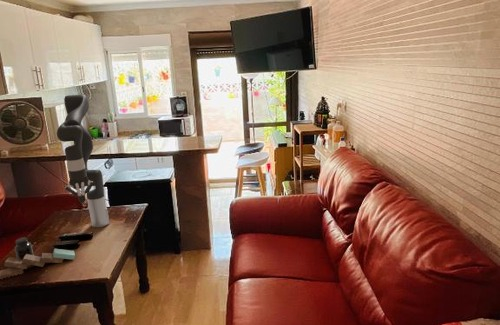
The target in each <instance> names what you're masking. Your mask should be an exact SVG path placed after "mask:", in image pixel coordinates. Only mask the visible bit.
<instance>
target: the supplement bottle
mask: <svg viewBox="0 0 500 325" xmlns="http://www.w3.org/2000/svg"><path fill="white" fill-rule="evenodd" d="M15 245H16V246H14V251H15V255H16V258H19V259H23V258H24V257H25V255H26V254H29V255H34V256H35V254H34V250H33V246H32V243H31V242H29V241H28V238H27V237H26V236H24V237H20V238H17V239H16V240H15Z"/></svg>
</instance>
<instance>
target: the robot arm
mask: <svg viewBox="0 0 500 325" xmlns="http://www.w3.org/2000/svg"><path fill="white" fill-rule="evenodd" d="M63 100H64V101H63V103H64V107H65V108H64V109H65V110H66V111H65V112H66V114H67V115H66V116H65V120H64V122H62V123H61V124H60V125H59V126H58V127H57V130H56V137H57V139H58V140H59V141H61V142H63V143H64V142H73V144H72V145H68V146H67V147H65V148H64V153H65V159H66V168H67V172H68V179H69V180H68V184H67V185H65V186H64V189H65V190H66V191H67V192H69V193H70V194H71V195H73V196H75V197H76V196H77V197H78V198H77V199H78V201H79V203H80V204H85V202H86V201H87V206H88V211H89V216H90V221H91V222H90V223H91V227H93V228H102V227H104V226H107V225H110V217H109V212H108V210H109V209H108V208H107V203H106V198H105V197H106V196H105V187H104V178H103V172H102V171H101V170H100V169H88V161H89V158H90V156H91V154H92V153H93V150H94V144H93V139H92V138H93V136H92V134H91V133H90V132H89V131H88V130H87V129H86V127H84V126H83V124H82V121H83V119H84V118H85V116H86V114H87V113H88V111H89V108H90V103H89V99H88V97H87V96H86V95H85V94H70V95H65V96H64V98H63ZM85 187H86V188H85ZM92 187H94V189H92ZM72 188H73V189H72ZM74 189H75V190H76V191H75V190H74ZM86 198H87V200H86Z"/></svg>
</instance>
